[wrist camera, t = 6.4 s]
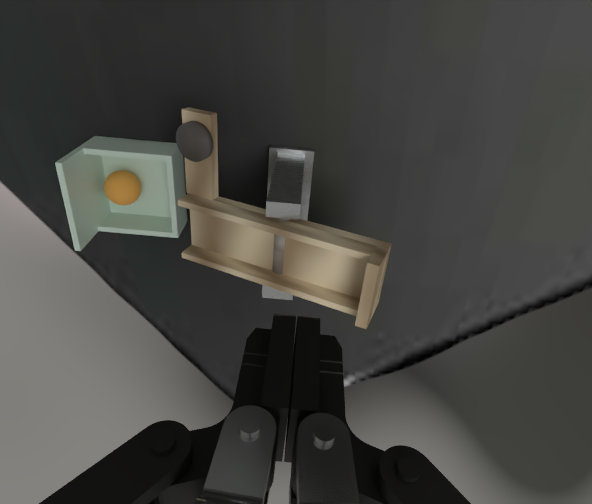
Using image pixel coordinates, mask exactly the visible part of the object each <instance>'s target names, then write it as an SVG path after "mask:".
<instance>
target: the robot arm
mask: <svg viewBox="0 0 592 504" xmlns="http://www.w3.org/2000/svg"><path fill="white" fill-rule="evenodd" d="M295 322H296V316H293V315H283V314H274V317H273V323H272V330H271V329H261V328H255V330H254V331H253V332H252V333H251V335H250V336H249V337H248V338H247V341H246V346H245V351H244V355H243V360H242V365H241V369H240V374H239V379H238V384H237V388H236V393H235V398H234V403H233V406H232V409H231V411H230V412H229V414H228V415H227V416H226V417H225V419H223V420H222V421H221V422H219V423H217V424H216V425H213V426H211V427H208V428H203V429H197V430H192V431H189V430H188V429H187V428H186V427H185V426H184V425H183V424H181V423H179V422H176V421H170V420H167V421H160V422H156V423H154V424H152V425H150V426H148V427H147V428H145V429H144V430H142V431H141V432H140V433H138V434H137V435H135V436H134V437H133V438H131V439H130V440H128V441H127V442H126V443H124V444H123V445H121V446H120V447H118V448H117V449H116V450H114V451H113V452H111V453H110V454H108V455H107V456H106V457H104V458H103V459H102V460H100V461H99V462H97V463H96V464H95V465H93V466H92V467H90V468H89V469H87V470H86V471H85V472H83V473H82V474H80V475H79V476H77V477H76V478H75V479H73V480H72V481H70V482H69V483H67V484H66V485H65V486H63V487H62V488H60V489H59V490H58V491H56V492H55V493H53V494H52V495H51V496H49V497H48V498H46V499H45V500H43V501H42V502H41V503H39V504H267V503H268V498H269V492H270V487H271V486H272V483H273V479H274V470H275V461H281V462H282V457H283V449H284V440H285V433H286V425H287V435H286V447H285V459H284V461H285V462H292V465H291V479H290V486H289V504H471V503H470V502H469V501H468V500H467V499H466V498H465V497H464V496H463V495H462V494H461V493H460V492H459V491H458V490H457V489H456V488H455V487H454V486H453V485H452V484H451V483H450V482H449V481H448V479H446V477H445V476H443V474H442V473H441V472H440V471H439V470H438V469H437V468H436V467H435V466H434V465H433V464H432V463H431V462H430V461H429V460H428V459H427V458H426V457H425V456H424V455H423V454H422V453H420V452H419V451H417V450H415V449H414V448H411V447H408V446H394V447H391V448H389V449H387V450H386V451H383V450H380V449H378V448H376V447H373V446H370V445H369V444H366V443H364V442H363V441H361V440H360V439H359V438H357V437H356V436H355V435H354V434H353V433H352V431H351V430H350V428H349V427H348V424H347V422H346V418H345V401H344V381H343V365H342V362H343V361H342V348H341V346H340V344H339V343H338V341H337V339H336V337H335V336H330V335H320V318H313V317H303V316H298V318H297V327H296V335H295ZM294 335H295V343H294ZM293 347H294V351H293ZM292 359H293V361H292ZM290 384H291V385H290ZM287 417H288V422H287Z"/></svg>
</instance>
